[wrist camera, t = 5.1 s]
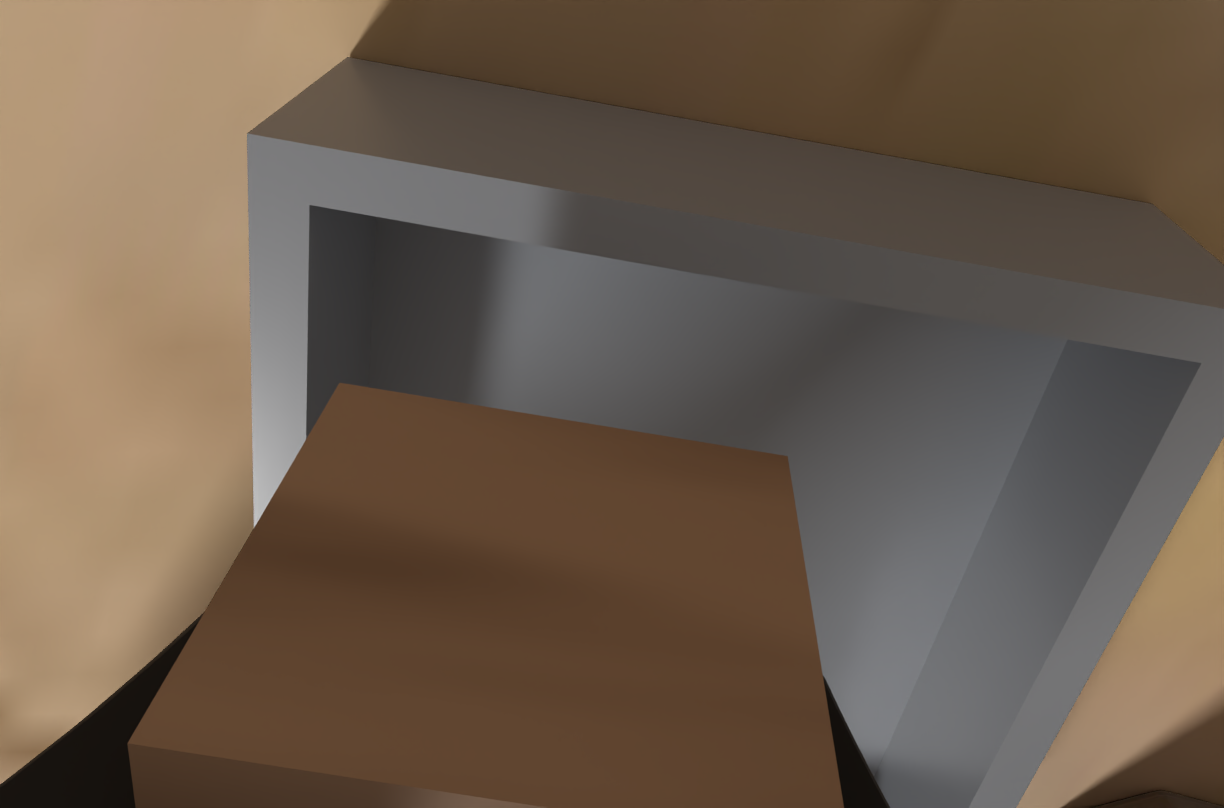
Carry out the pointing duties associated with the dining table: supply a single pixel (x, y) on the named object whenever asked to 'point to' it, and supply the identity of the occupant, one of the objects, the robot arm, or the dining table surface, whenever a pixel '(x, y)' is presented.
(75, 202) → the dining table surface
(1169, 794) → the ceramic cup
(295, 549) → the walnut cube
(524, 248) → the tote
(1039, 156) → the dining table surface
